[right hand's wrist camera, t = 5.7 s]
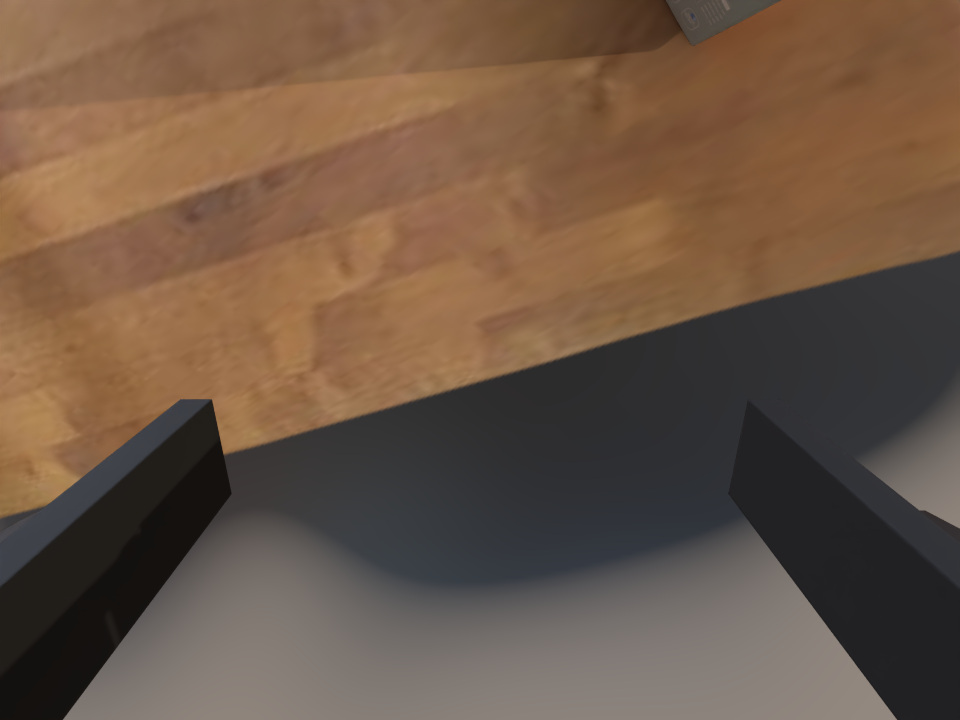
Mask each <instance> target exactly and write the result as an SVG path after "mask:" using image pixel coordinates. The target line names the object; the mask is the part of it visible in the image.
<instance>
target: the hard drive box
mask: <svg viewBox="0 0 960 720" xmlns="http://www.w3.org/2000/svg"><path fill="white" fill-rule="evenodd" d="M779 1H780V0H666V2H667V4H668V5H669V7H670V9H671V11H672V13H673V14H674V16H675V18H676V20H677V21H678V23H679V25H680V27H681V28H682V30H683V32H684V34H685V35H686V37H687V39H688V41H689V42H690V44H691V45H693V46H694V45H696V44H698V43H700V42H702V41H704V40H706V39H708V38H710V37H712V36H714V35H716V34H718V33H720V32H722V31H724V30H726V29H728V28H729V27H731V26H733V25H735V24H737V23H739V22H741V21H743V20H745V19H747V18H749V17H750V16H752V15H754V14H756V13H758V12H760V11H762V10H764V9H765V8H767V7H769V6H771V5H773V4H775V3H777V2H779Z"/></svg>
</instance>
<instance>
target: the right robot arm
mask: <svg viewBox="0 0 960 720" xmlns="http://www.w3.org/2000/svg"><path fill="white" fill-rule="evenodd" d="M230 495H231V489H230V484H229V479H228V474H227V469H226V465H225V460H224V455H223V450H222V446H221V441H220V436H219V431H218V426H217V422H216V417H215V412H214V407H213V403H212V399H180V400H179V401H178V402H177V403H175V404H174V405H173V406H172V407H170V408H169V409H168V410H167V411H165V412H164V413H163V414H162V415H160V416H159V417H158V418H157V419H155V420H154V421H153V422H152V423H150V424H149V425H148V426H146V427H145V428H144V429H143V430H141V431H140V432H139V433H138V434H136V435H135V436H134V437H133V438H131V439H130V440H129V441H128V442H126V443H125V444H124V445H123V446H121V447H120V448H119V449H118V450H116V451H115V452H114V453H113V454H111V455H110V456H109V457H107V458H106V459H105V460H104V461H102V462H101V463H100V464H99V465H97V466H96V467H95V468H94V469H92V470H91V471H90V472H89V473H87V474H86V475H85V476H84V477H82V478H81V479H80V480H79V481H77V482H76V483H75V484H74V485H72V486H71V487H70V488H69V489H67V490H66V491H65V492H63V493H62V494H61V495H60V496H58V497H57V498H56V499H55V500H53V501H52V502H51V503H50V504H48V505H47V506H46V507H45V508H43V509H42V510H41V511H40V512H36V513H33V514H32V515H30V516H28V517H26V518H24V519H22V520H20V521H18V522H16V523H15V524H13V525H11V526H9V527H7V528H5V529H3V530H1V531H0V720H63V719H64V717H65V716H66V715H67V713H68V712H69V711H70V709H71V708H72V707H73V705H74V704H75V703H76V701H77V700H78V699H79V697H80V696H81V695H82V693H83V692H84V691H85V689H86V688H87V687H88V685H89V684H90V683H91V681H92V680H93V679H94V677H95V676H96V675H97V673H98V672H99V671H100V669H101V668H102V667H103V665H104V664H105V663H106V661H107V660H108V658H109V657H110V656H111V654H112V653H113V652H114V651H115V649H116V648H117V647H118V645H119V644H120V643H121V641H122V640H123V638H124V637H125V636H126V634H127V633H128V632H129V630H130V629H131V628H132V626H133V625H134V624H135V622H136V621H137V620H138V618H139V617H140V616H141V614H142V613H143V612H144V610H145V609H146V608H147V606H148V605H149V604H150V602H151V601H152V600H153V598H154V597H155V596H156V594H157V593H158V592H159V590H160V589H161V588H162V586H163V585H164V584H165V582H166V581H167V580H168V578H169V577H170V576H171V574H172V573H173V572H174V570H175V569H176V568H177V566H178V565H179V564H180V562H181V561H182V560H183V558H184V557H185V556H186V554H187V553H188V551H189V550H190V549H191V547H192V546H193V545H194V543H195V542H196V541H197V539H198V538H199V537H200V535H201V534H202V533H203V531H204V530H205V529H206V527H207V526H208V525H209V523H210V522H211V521H212V519H213V518H214V517H215V515H216V514H217V513H218V511H219V510H220V509H221V507H222V506H223V505H224V503H225V502H226V501H227V499H228V498H229V497H230ZM729 495H730V497H731V498H732V499H733V501H734V502H735V503H736V505H737V506H738V507H739V509H740V510H741V511H742V513H743V514H744V515H745V517H746V518H747V519H748V521H749V522H750V523H751V525H752V526H753V527H754V529H755V530H756V531H757V533H758V534H759V535H760V537H761V538H762V539H763V541H764V542H765V543H766V545H767V546H768V547H769V549H770V550H771V551H772V553H773V554H774V556H775V557H776V558H777V559H778V561H779V562H780V564H781V565H782V566H783V568H784V569H785V570H786V572H787V573H788V574H789V575H790V577H791V578H792V580H793V581H794V582H795V584H796V585H797V586H798V588H799V589H800V590H801V592H802V593H803V594H804V596H805V597H806V598H807V600H808V601H809V602H810V604H811V605H812V606H813V608H814V609H815V610H816V612H817V613H818V614H819V616H820V617H821V618H822V620H823V621H824V622H825V624H826V625H827V626H828V628H829V629H830V630H831V632H832V633H833V634H834V636H835V637H836V638H837V640H838V641H839V643H840V644H841V645H842V646H843V648H844V649H845V650H846V652H847V653H848V655H849V656H850V657H851V658H852V660H853V661H854V662H855V664H856V665H857V667H858V668H859V669H860V671H861V672H862V673H863V675H864V676H865V677H866V679H867V680H868V681H869V683H870V684H871V685H872V687H873V688H874V689H875V691H876V692H877V693H878V695H879V696H880V697H881V699H882V700H883V701H884V703H885V704H886V705H887V707H888V708H889V709H890V711H891V712H892V713H893V715H894V716H895V717H896V719H897V720H960V529H959V528H957V527H955V526H954V525H952V524H950V523H948V522H946V521H944V520H942V519H940V518H938V517H936V516H934V515H933V514H931V513H929V512H927V511H919V510H918V509H917V508H915V507H914V506H913V505H912V504H910V503H909V502H908V501H907V500H905V499H904V498H903V497H902V496H900V495H899V494H898V493H896V492H895V491H894V490H893V489H891V488H890V487H889V486H888V485H886V484H885V483H884V482H883V481H881V480H880V479H879V478H878V477H876V476H875V475H874V474H873V473H871V472H870V471H869V470H868V469H866V468H865V467H864V466H862V465H861V464H860V463H859V462H858V461H856V460H855V459H854V458H852V457H851V456H850V455H849V454H847V453H846V452H845V451H844V450H842V449H841V448H840V447H839V446H837V445H836V444H835V443H834V442H832V441H831V440H830V439H829V438H827V437H826V436H825V435H824V434H822V433H821V432H820V431H819V430H817V429H816V428H815V427H813V426H812V425H811V424H810V423H808V422H807V421H806V420H805V419H803V418H802V417H801V416H800V415H798V414H797V413H796V412H795V411H793V410H792V409H791V408H790V407H788V406H787V405H786V404H785V403H783V402H782V401H781V400H779V399H749V400H748V403H747V407H746V412H745V417H744V422H743V427H742V431H741V436H740V441H739V446H738V450H737V455H736V460H735V465H734V470H733V474H732V479H731V484H730V489H729Z"/></svg>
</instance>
